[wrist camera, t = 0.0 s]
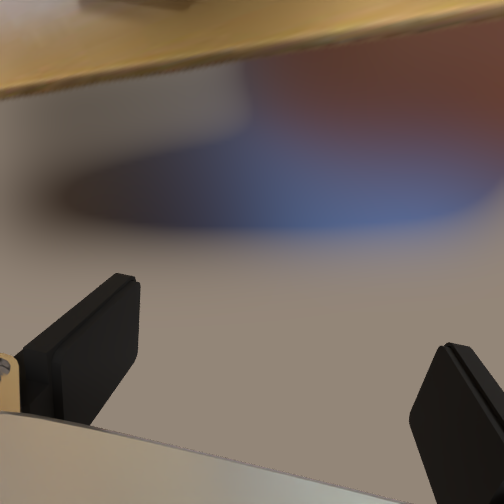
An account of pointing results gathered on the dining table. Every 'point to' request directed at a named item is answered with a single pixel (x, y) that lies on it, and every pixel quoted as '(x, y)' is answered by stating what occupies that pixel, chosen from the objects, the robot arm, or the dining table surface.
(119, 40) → the dining table surface
